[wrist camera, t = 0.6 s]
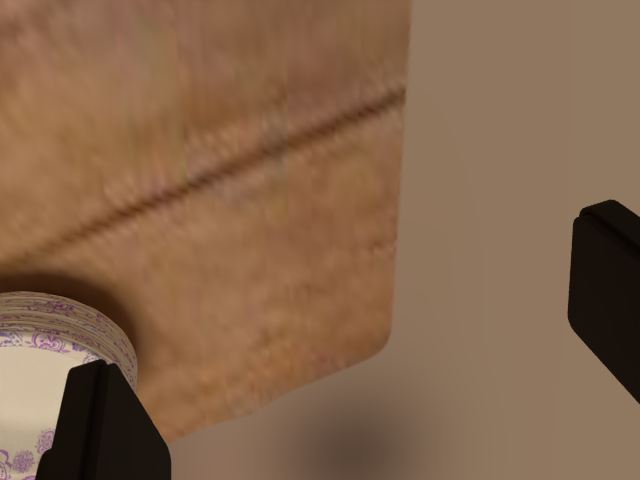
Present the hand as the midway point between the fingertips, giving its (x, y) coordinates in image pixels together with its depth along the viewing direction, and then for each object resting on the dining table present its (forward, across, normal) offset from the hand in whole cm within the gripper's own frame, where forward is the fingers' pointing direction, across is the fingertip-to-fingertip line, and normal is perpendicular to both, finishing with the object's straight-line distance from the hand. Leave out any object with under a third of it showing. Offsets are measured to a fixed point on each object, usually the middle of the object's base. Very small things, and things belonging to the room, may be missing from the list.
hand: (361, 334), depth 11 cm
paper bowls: (+30, +22, +20) cm, 42 cm away
